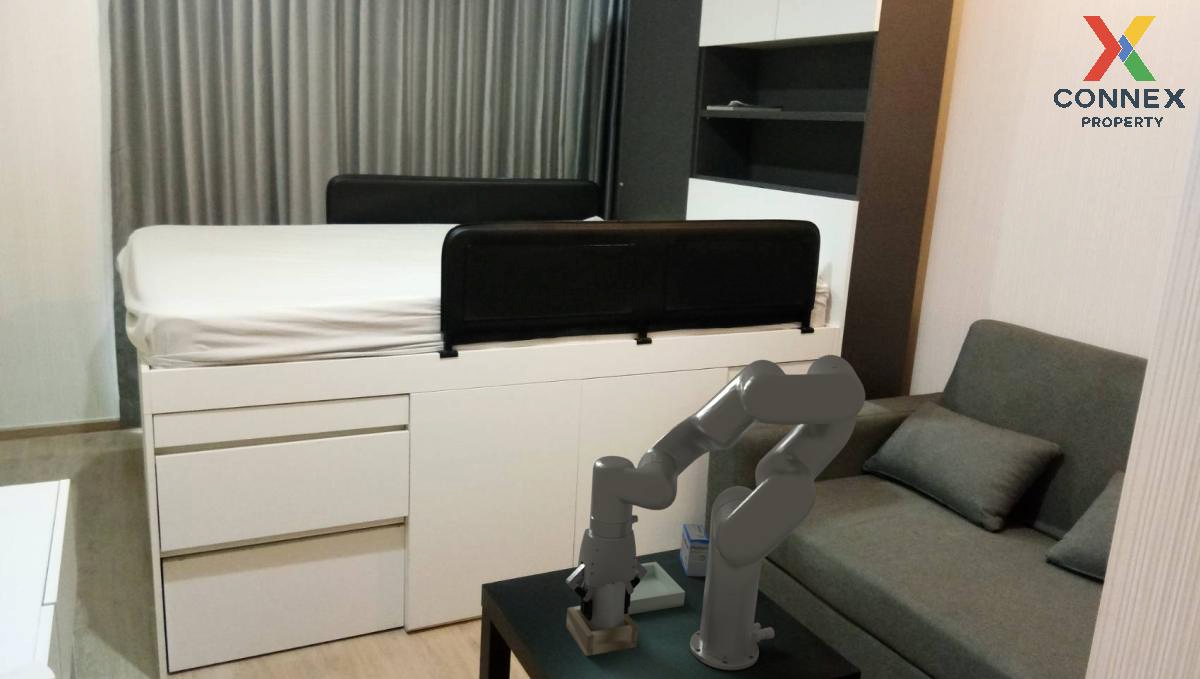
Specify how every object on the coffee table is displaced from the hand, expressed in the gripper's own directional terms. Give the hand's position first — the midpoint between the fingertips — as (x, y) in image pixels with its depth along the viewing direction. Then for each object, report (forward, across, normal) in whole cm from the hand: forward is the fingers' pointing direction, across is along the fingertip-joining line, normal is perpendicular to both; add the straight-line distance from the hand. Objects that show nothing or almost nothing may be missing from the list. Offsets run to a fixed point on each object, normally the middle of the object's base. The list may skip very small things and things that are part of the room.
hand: (604, 612), depth 169 cm
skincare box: (+5, 0, 0) cm, 5 cm away
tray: (+5, -14, -12) cm, 19 cm away
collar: (+5, 0, 0) cm, 5 cm away
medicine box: (+5, -30, -19) cm, 36 cm away
